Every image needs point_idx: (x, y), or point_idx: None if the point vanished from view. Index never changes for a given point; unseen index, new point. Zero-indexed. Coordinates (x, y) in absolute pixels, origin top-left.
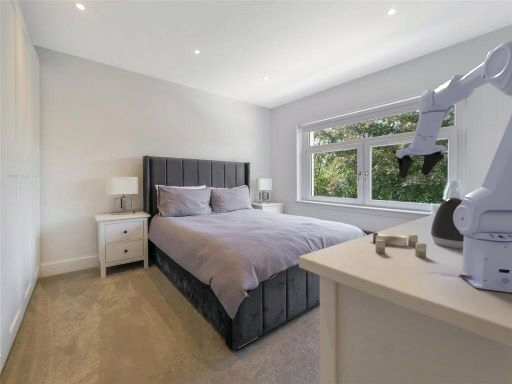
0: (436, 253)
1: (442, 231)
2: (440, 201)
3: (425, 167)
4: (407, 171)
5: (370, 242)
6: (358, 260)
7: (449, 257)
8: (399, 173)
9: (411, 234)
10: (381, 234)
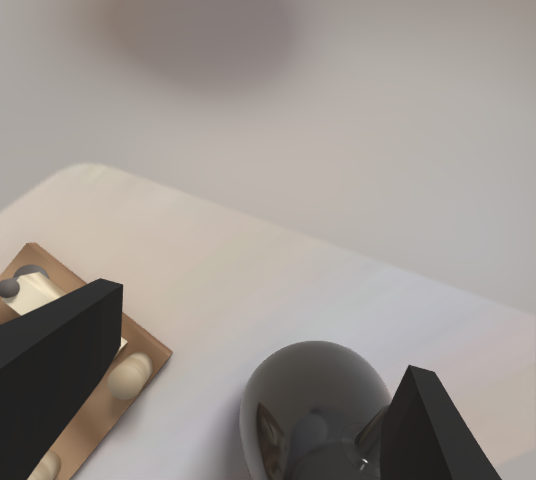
0: (191, 415)
1: (240, 435)
2: (383, 407)
3: (413, 477)
4: (46, 439)
5: (16, 270)
6: None
7: (188, 459)
8: (76, 293)
9: (131, 370)
10: (39, 295)
